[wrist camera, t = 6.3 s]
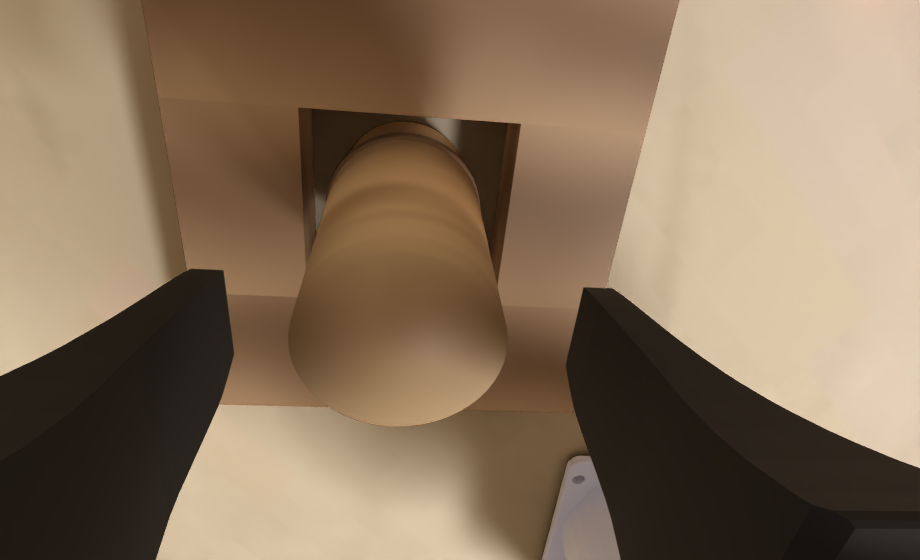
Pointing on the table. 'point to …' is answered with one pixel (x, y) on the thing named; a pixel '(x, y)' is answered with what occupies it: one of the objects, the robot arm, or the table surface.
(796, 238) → the table surface
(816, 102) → the table surface
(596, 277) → the board
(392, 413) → the peg
